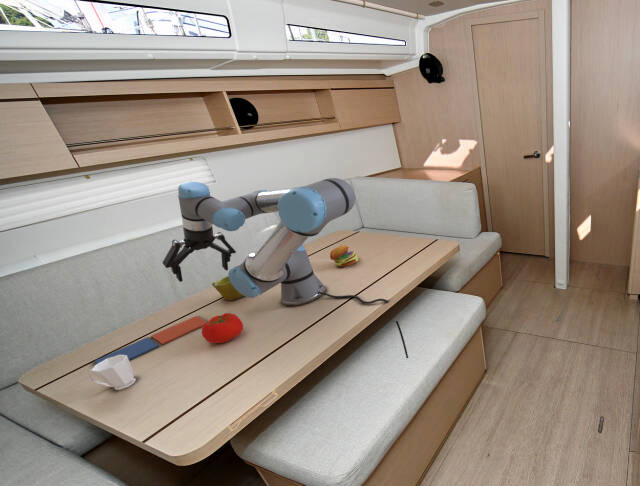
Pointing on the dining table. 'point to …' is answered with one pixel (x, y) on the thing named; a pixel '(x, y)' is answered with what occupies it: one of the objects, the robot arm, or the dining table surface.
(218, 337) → the tomato
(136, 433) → the dining table surface
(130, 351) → the blue mat
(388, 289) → the dining table surface
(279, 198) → the robot arm
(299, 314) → the dining table surface
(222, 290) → the mug
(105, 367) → the cup
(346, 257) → the cheeseburger
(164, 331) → the red mat
